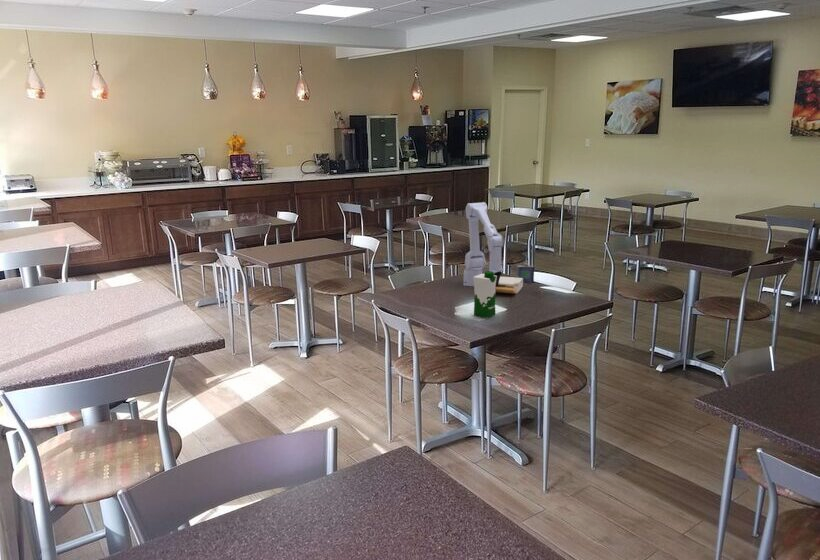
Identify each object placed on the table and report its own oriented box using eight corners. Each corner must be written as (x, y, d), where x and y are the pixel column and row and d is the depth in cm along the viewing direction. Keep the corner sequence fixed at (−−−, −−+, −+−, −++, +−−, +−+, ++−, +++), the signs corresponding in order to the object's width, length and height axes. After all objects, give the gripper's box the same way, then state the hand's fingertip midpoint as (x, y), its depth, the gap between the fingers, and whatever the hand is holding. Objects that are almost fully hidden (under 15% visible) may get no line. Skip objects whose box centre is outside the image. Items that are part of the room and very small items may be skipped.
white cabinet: (478, 291, 308) (478, 281, 307) (485, 284, 321) (485, 275, 319) (517, 294, 301) (517, 284, 300) (522, 287, 313) (523, 278, 312)
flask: (516, 282, 323) (516, 263, 321) (516, 281, 326) (517, 261, 324) (533, 283, 321) (534, 263, 319) (533, 281, 324) (534, 262, 321)
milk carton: (487, 319, 263) (488, 275, 258) (470, 315, 269) (470, 272, 264) (498, 314, 270) (499, 271, 265) (481, 310, 275) (481, 268, 270)
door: (478, 290, 307) (475, 287, 299) (479, 288, 307) (475, 285, 299) (515, 293, 300) (513, 290, 292) (516, 291, 300) (513, 288, 293)
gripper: (499, 263, 286) (499, 290, 290) (506, 257, 300) (506, 284, 303) (485, 262, 289) (485, 289, 292) (492, 256, 302) (492, 283, 305)
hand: (495, 286), depth 298 cm, fingers closed
